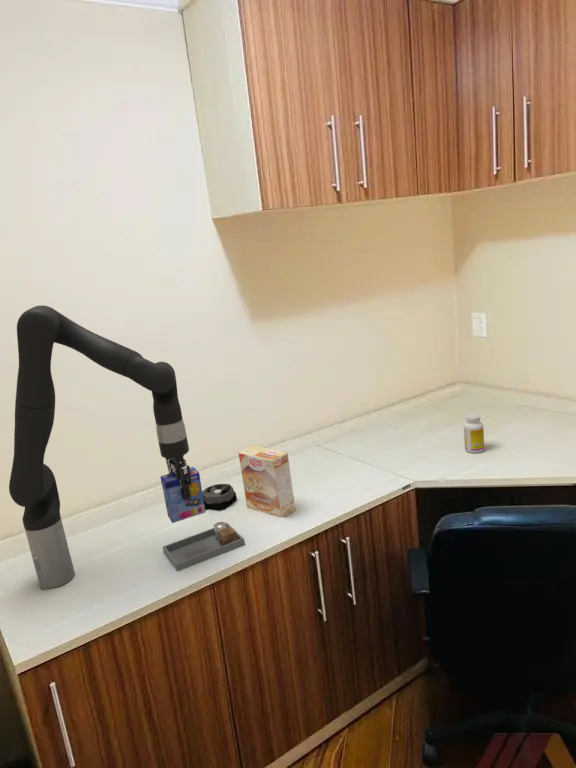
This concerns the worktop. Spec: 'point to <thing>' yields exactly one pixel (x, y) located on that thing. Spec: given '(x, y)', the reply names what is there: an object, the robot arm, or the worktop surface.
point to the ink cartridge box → (173, 497)
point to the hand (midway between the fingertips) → (183, 494)
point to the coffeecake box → (267, 481)
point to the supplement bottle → (473, 434)
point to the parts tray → (198, 548)
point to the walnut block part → (226, 536)
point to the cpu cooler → (218, 497)
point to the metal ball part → (219, 528)
